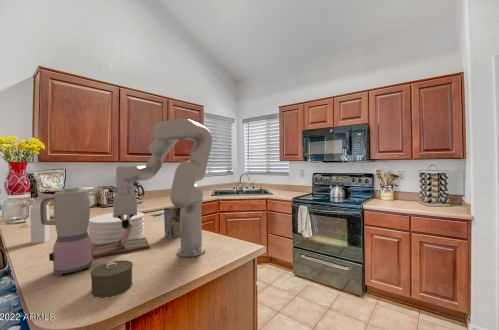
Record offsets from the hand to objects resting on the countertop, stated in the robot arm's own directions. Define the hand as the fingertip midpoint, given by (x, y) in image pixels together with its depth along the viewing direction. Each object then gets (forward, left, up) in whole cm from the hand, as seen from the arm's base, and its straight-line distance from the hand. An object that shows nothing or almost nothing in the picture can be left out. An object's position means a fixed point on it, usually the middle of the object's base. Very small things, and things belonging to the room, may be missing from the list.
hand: (125, 228), depth 116 cm
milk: (+38, +39, -10) cm, 55 cm away
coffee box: (+7, -25, -10) cm, 28 cm away
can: (-41, +7, -10) cm, 43 cm away
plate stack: (+25, +2, -10) cm, 27 cm away
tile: (0, 0, -3) cm, 3 cm away
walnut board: (0, +2, -10) cm, 10 cm away
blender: (-16, +21, -10) cm, 28 cm away
